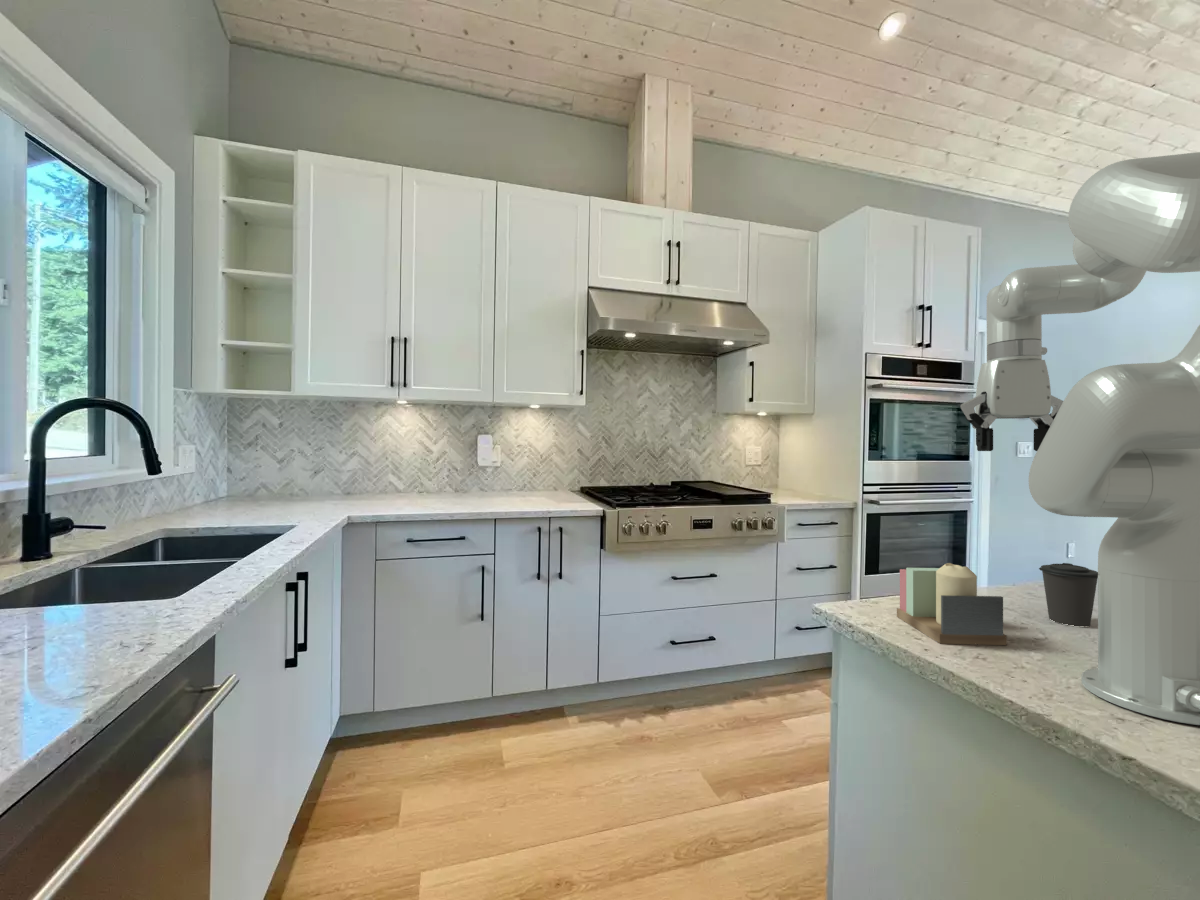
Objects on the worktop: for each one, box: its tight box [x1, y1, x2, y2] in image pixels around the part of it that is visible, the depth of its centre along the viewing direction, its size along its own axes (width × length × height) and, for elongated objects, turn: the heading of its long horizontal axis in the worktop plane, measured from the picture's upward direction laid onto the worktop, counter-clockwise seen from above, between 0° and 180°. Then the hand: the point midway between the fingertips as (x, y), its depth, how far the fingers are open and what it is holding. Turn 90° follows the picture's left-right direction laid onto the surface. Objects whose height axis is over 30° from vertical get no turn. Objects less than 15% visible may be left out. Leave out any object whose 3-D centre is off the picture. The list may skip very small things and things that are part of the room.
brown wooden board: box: [896, 607, 1008, 646], centre depth 85 cm, size 13×10×2 cm
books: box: [899, 567, 940, 617], centre depth 90 cm, size 4×9×8 cm, turn 86°
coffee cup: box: [1038, 562, 1098, 627], centre depth 89 cm, size 8×8×10 cm
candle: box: [936, 562, 978, 625], centre depth 83 cm, size 6×6×10 cm
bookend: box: [941, 595, 1004, 636], centre depth 79 cm, size 1×9×6 cm, turn 87°
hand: (1013, 451), depth 89 cm, fingers open, 9 cm apart
